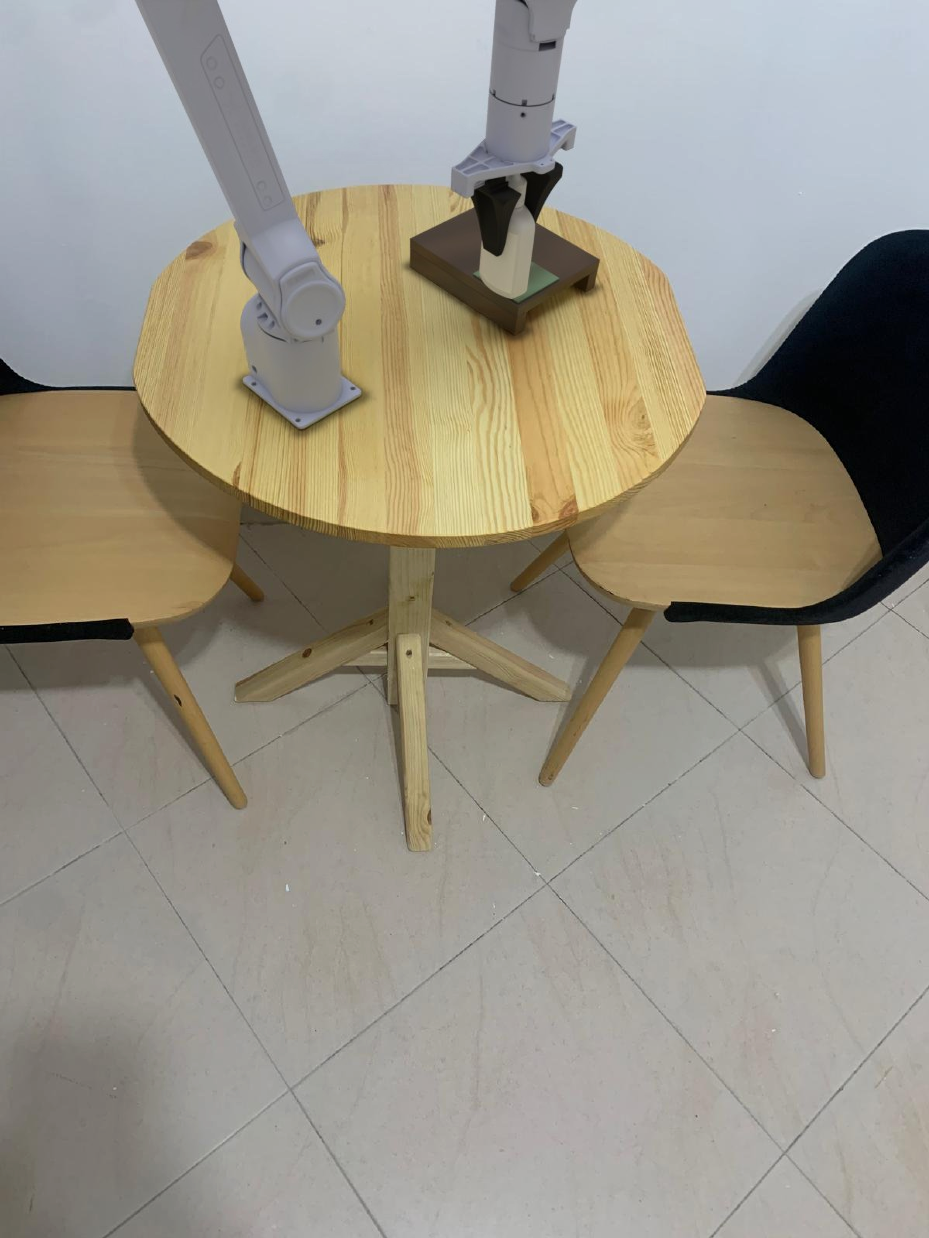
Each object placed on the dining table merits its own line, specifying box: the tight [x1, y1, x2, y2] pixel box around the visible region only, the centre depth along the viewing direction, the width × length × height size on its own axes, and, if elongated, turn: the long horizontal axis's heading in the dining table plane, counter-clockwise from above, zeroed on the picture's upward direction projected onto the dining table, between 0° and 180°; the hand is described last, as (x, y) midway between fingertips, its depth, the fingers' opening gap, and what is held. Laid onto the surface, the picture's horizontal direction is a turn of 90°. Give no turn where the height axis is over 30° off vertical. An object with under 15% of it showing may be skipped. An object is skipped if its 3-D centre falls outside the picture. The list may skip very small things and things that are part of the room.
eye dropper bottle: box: [479, 174, 535, 299], centre depth 75 cm, size 4×6×12 cm
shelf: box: [409, 206, 601, 336], centre depth 90 cm, size 17×14×4 cm
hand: (506, 244), depth 77 cm, fingers closed on eye dropper bottle, 3 cm apart
